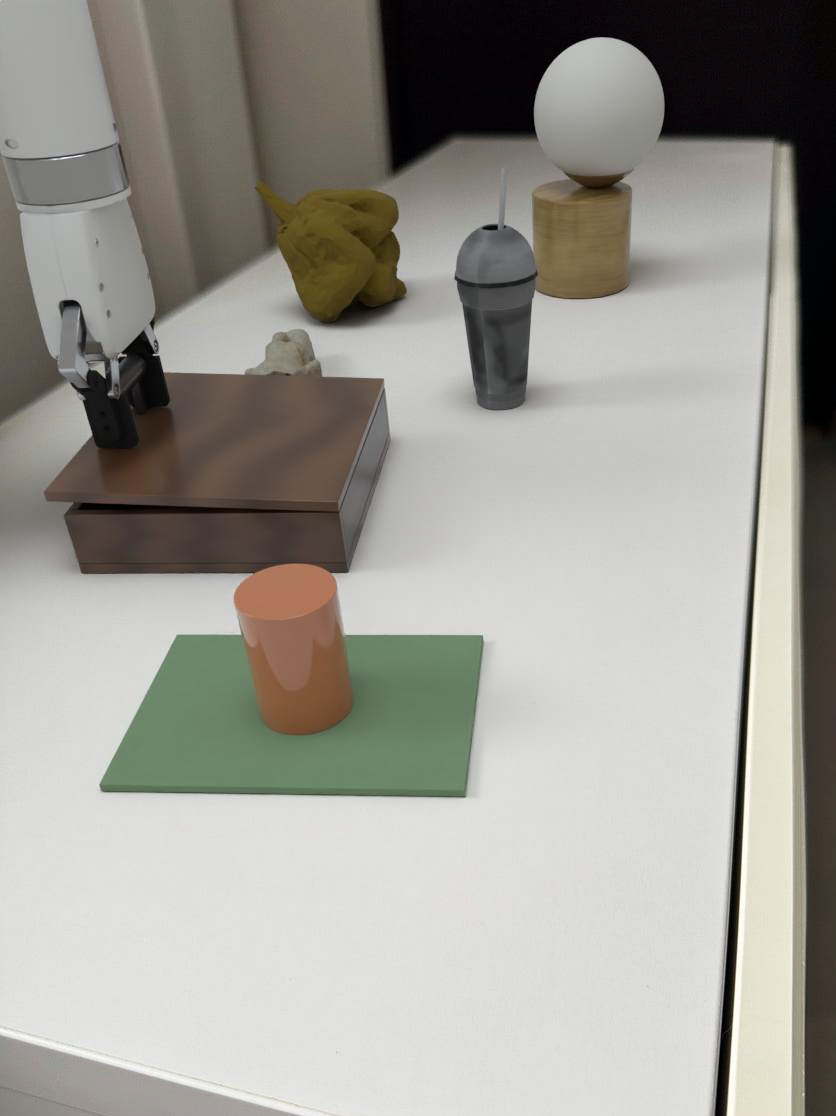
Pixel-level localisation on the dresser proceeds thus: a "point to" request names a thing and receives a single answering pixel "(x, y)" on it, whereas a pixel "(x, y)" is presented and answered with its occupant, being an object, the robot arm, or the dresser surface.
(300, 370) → the sculpture
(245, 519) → the chest
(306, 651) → the cylinder
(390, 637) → the mat
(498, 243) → the beverage cup
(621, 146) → the lamp
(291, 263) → the olive lumpy blob
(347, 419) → the lid
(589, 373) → the dresser surface
